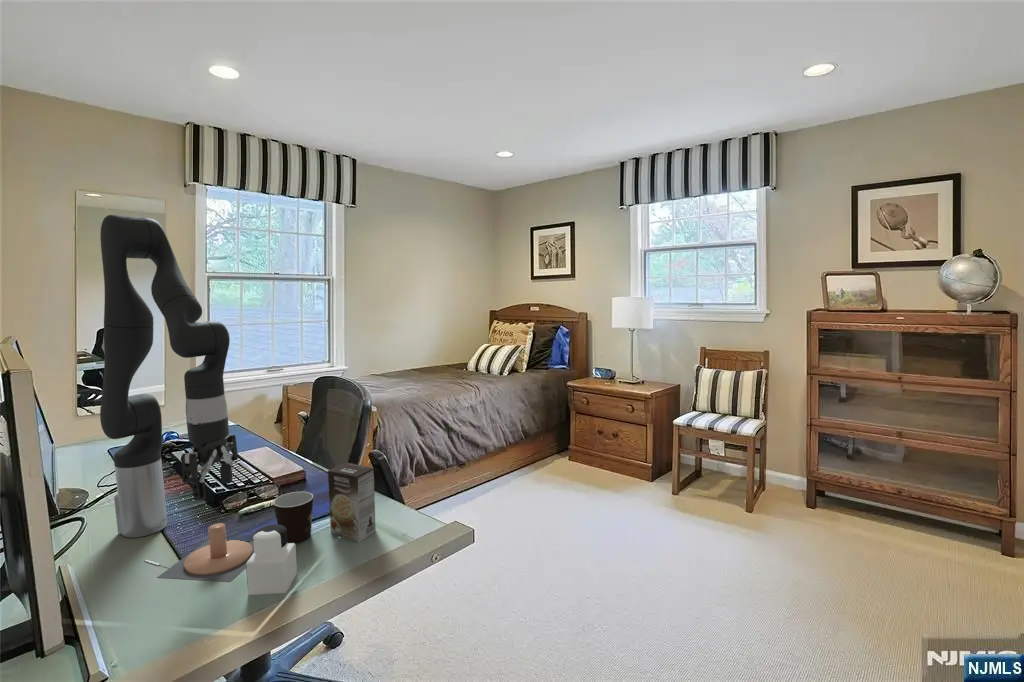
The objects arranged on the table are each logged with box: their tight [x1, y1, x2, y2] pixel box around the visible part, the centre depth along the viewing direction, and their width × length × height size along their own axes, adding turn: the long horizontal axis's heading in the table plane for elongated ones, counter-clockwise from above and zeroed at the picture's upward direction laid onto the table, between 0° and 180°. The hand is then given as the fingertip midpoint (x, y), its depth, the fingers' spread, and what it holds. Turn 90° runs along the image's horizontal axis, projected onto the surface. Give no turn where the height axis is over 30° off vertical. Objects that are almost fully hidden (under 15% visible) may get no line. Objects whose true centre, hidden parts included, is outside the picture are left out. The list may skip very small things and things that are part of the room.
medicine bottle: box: [245, 524, 298, 596], centre depth 105 cm, size 7×7×12 cm
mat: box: [156, 538, 254, 583], centre depth 115 cm, size 16×16×1 cm
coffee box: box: [327, 461, 377, 543], centre depth 126 cm, size 9×6×16 cm
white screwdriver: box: [144, 559, 170, 570], centre depth 111 cm, size 1×19×1 cm, turn 67°
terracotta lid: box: [184, 522, 252, 575], centre depth 115 cm, size 13×13×7 cm
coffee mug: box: [272, 491, 314, 545], centre depth 125 cm, size 12×9×10 cm
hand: (213, 490), depth 113 cm, fingers open, 8 cm apart
